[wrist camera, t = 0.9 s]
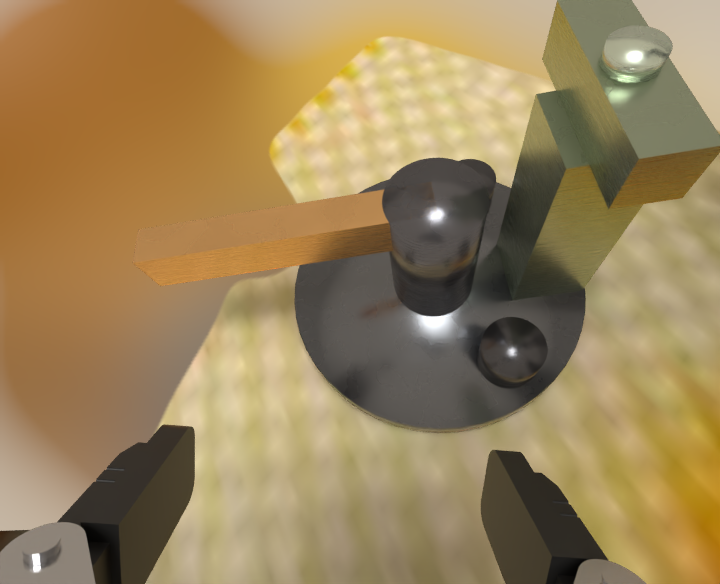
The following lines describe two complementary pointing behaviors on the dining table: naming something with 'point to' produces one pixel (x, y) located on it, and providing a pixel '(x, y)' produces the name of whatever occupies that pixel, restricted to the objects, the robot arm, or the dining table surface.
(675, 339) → the dining table surface
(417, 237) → the wooden handled mallet
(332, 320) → the base
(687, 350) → the dining table surface
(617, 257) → the dining table surface
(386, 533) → the dining table surface
